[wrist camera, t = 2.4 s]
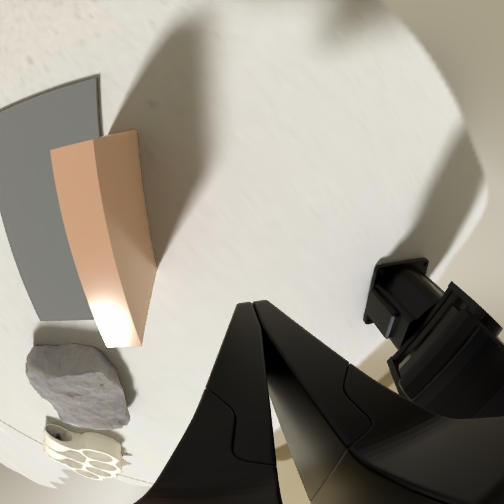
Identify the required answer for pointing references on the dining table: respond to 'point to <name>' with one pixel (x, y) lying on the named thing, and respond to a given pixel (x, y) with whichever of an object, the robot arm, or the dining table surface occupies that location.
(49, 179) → the mat
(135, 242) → the tan flat block
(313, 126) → the dining table surface
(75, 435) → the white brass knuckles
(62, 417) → the stone block
